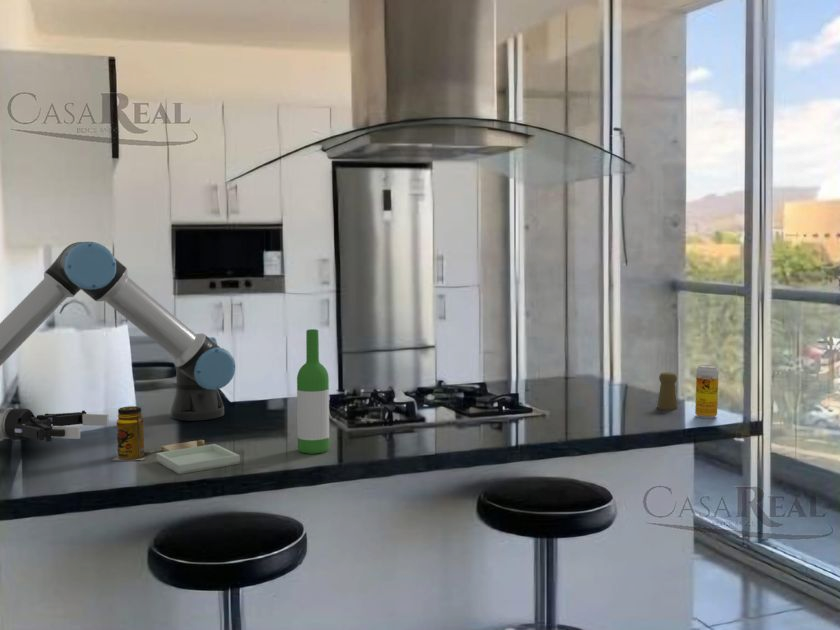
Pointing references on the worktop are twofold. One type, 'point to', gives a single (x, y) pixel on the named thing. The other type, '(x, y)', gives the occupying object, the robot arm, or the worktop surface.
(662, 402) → the cork
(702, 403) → the beer can
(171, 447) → the bench board
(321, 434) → the wine bottle
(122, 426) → the condiment
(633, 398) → the worktop surface
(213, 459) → the tray
